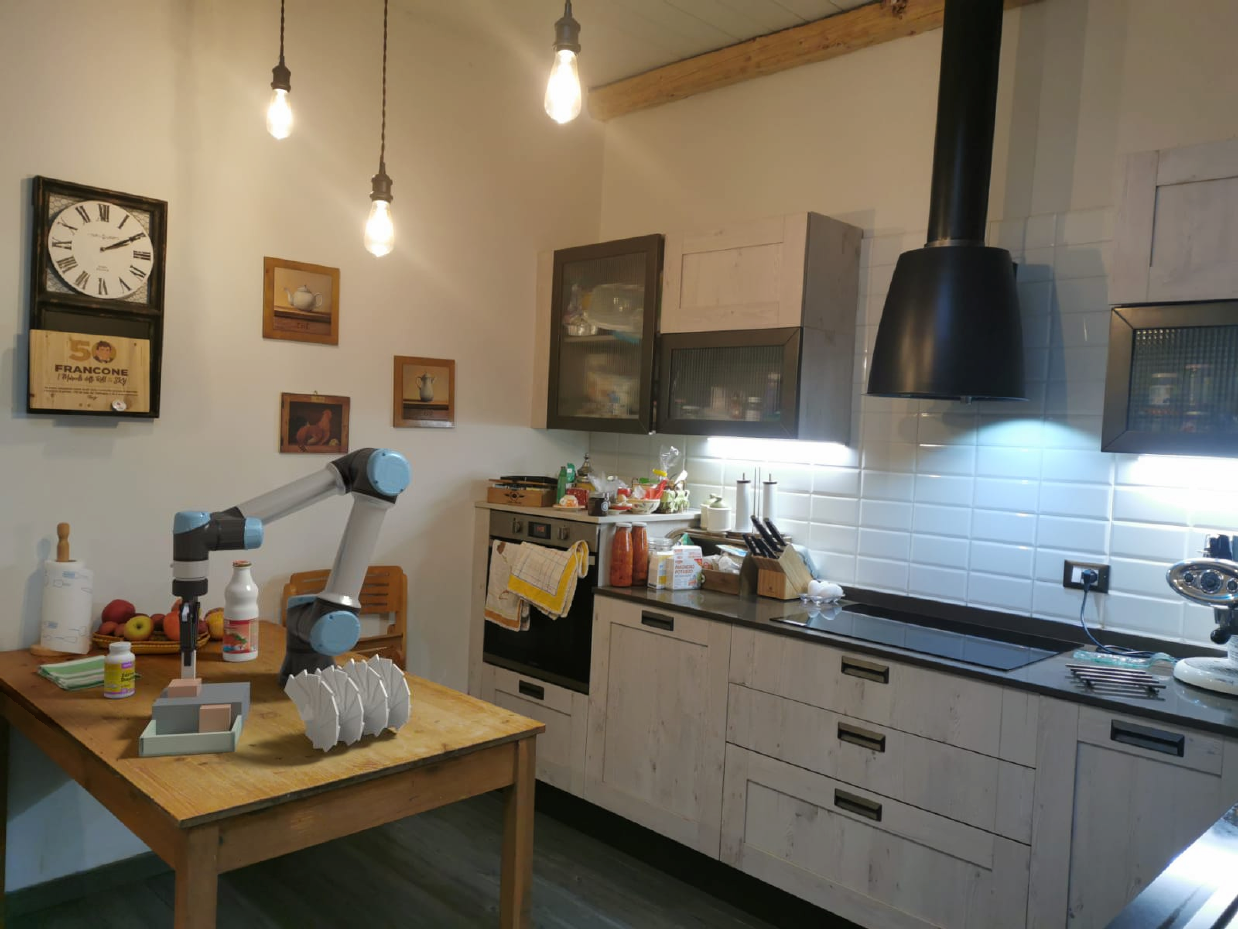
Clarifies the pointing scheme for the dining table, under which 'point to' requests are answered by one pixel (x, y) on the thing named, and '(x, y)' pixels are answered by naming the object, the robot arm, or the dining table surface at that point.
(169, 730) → the slate step
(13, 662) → the dining table surface
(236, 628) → the fruit juice
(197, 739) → the sage tray
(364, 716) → the spiral staircase
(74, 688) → the dish towel
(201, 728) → the terracotta tile
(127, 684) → the supplement bottle
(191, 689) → the terracotta tile
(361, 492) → the robot arm
